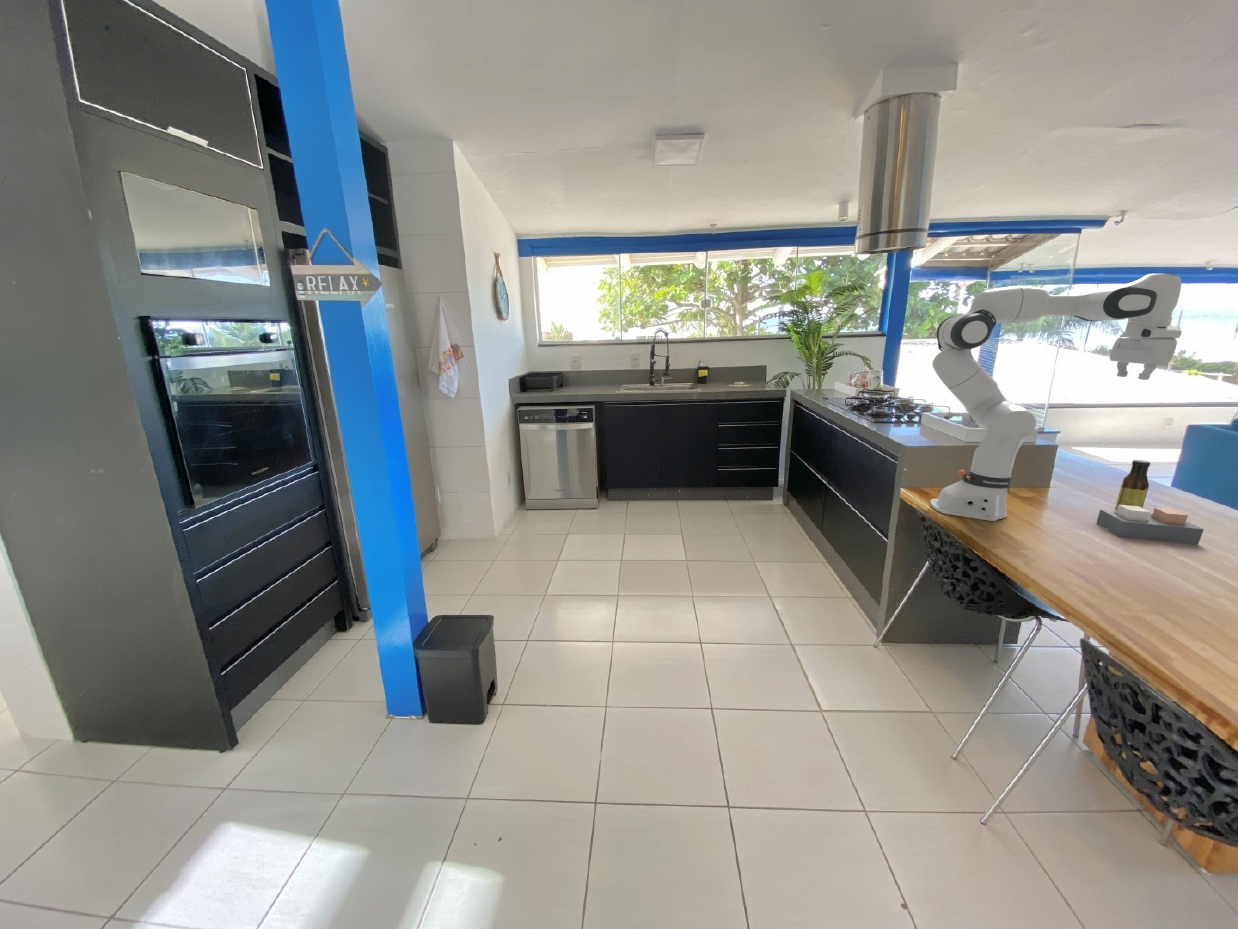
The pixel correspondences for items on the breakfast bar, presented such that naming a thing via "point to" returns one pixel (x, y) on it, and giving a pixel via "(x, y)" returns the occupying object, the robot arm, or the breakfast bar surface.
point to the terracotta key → (1169, 516)
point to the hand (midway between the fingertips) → (1132, 378)
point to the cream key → (1132, 512)
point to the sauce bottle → (1134, 485)
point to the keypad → (1149, 528)
